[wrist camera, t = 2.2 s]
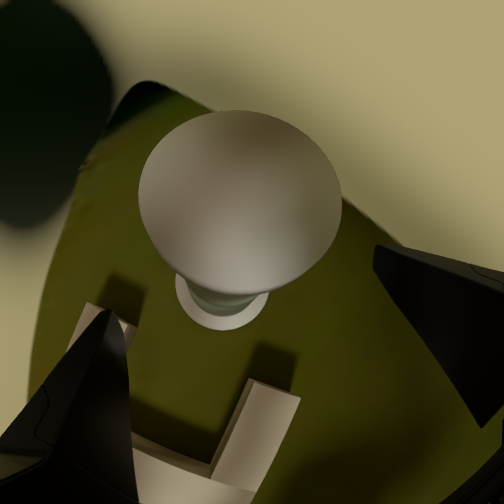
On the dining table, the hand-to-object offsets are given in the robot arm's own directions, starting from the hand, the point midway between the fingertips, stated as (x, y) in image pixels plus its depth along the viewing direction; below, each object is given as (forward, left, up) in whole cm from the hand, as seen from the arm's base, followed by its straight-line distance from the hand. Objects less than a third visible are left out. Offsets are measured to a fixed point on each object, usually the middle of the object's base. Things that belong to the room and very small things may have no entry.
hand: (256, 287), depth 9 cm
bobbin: (+1, -2, -11) cm, 11 cm away
